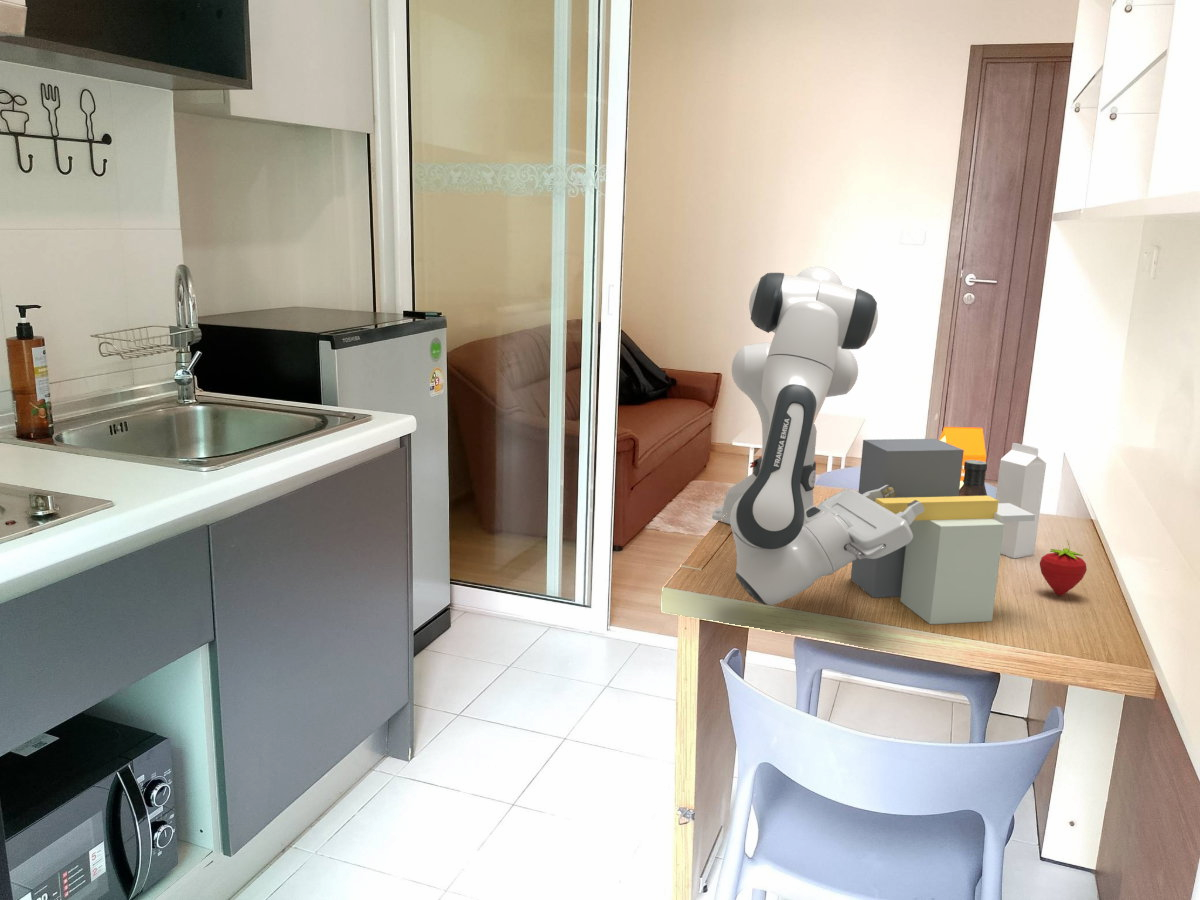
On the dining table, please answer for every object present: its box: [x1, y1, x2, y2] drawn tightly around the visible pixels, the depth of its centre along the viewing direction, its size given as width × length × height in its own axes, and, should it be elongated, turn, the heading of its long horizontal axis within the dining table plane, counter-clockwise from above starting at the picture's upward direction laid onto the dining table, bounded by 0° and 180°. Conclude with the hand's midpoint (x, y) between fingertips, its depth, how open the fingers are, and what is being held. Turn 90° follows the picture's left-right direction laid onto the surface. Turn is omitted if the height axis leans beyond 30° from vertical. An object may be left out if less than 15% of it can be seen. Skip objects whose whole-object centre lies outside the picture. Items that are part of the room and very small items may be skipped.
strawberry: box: [1039, 539, 1087, 596], centre depth 167 cm, size 6×8×10 cm
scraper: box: [875, 495, 1035, 522], centre depth 156 cm, size 26×7×3 cm, turn 100°
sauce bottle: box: [959, 460, 988, 496], centre depth 183 cm, size 7×6×20 cm
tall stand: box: [850, 438, 964, 599], centre depth 167 cm, size 14×9×26 cm, turn 101°
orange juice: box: [938, 426, 987, 488], centre depth 216 cm, size 8×9×20 cm
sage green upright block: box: [899, 518, 1004, 625], centre depth 158 cm, size 11×10×16 cm
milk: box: [992, 442, 1047, 559], centre depth 189 cm, size 6×6×22 cm
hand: (906, 496), depth 154 cm, fingers open, 8 cm apart
